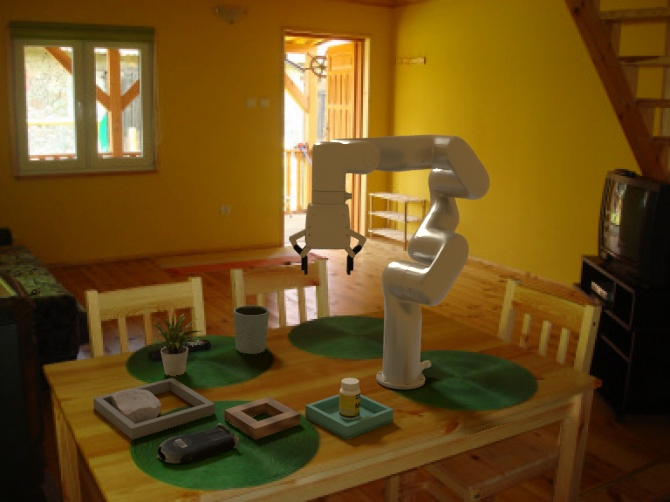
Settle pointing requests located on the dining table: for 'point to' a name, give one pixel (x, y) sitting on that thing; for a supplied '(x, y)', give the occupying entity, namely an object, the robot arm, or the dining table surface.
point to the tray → (368, 420)
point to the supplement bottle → (349, 399)
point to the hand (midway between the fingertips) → (327, 273)
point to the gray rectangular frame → (160, 423)
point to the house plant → (174, 346)
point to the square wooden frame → (259, 429)
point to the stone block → (136, 404)
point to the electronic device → (197, 445)
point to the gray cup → (251, 328)
